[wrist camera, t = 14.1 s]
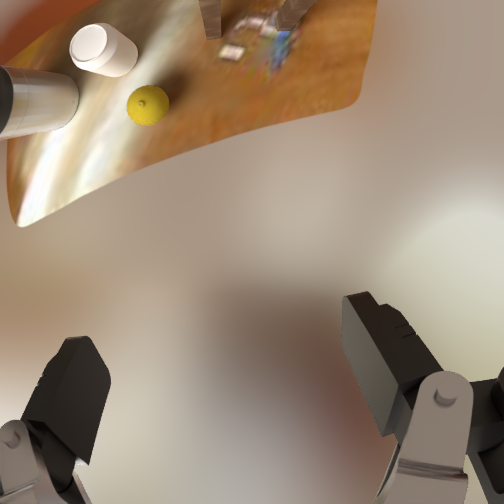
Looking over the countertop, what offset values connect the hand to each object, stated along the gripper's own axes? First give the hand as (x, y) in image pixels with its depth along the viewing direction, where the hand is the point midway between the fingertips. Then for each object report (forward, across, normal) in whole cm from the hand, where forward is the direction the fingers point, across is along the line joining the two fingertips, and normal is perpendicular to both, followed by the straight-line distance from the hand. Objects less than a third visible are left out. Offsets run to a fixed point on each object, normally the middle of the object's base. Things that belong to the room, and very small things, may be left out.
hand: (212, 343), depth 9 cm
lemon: (+38, +8, -10) cm, 40 cm away
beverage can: (+38, +12, -19) cm, 44 cm away
